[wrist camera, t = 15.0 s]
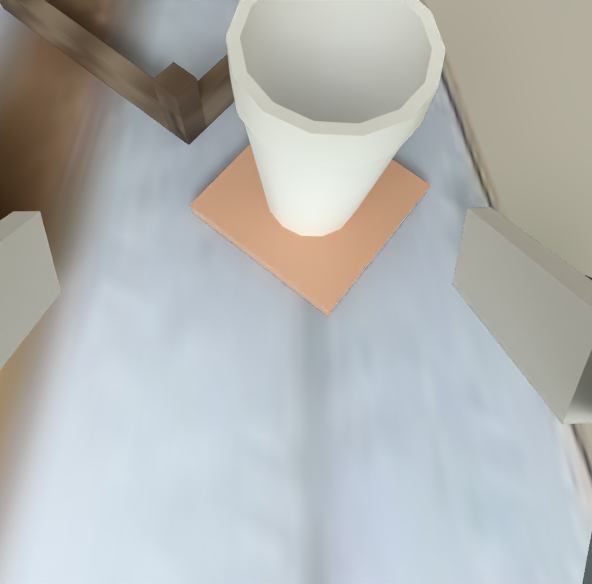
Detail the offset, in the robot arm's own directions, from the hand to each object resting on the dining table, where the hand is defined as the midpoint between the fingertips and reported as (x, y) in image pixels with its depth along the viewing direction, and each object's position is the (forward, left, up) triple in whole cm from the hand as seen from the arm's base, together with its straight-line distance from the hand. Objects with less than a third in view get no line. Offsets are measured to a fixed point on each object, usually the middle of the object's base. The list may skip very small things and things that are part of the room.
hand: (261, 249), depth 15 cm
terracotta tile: (-4, +10, -16) cm, 20 cm away
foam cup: (-4, +10, -15) cm, 19 cm away
